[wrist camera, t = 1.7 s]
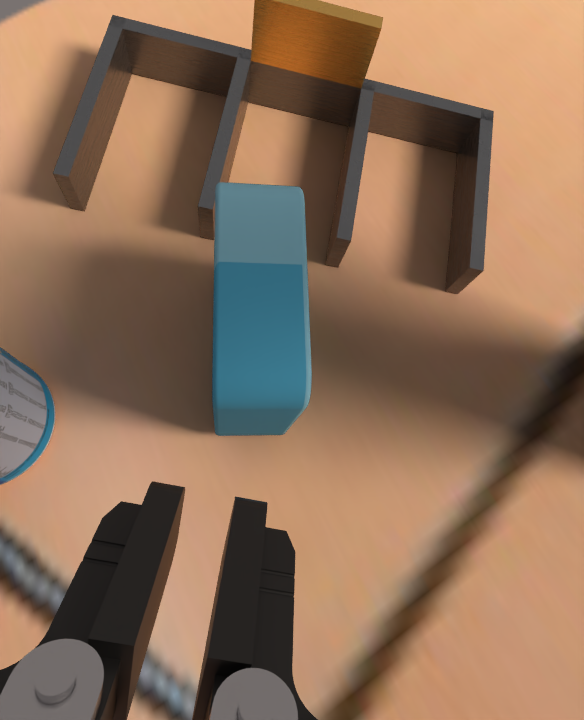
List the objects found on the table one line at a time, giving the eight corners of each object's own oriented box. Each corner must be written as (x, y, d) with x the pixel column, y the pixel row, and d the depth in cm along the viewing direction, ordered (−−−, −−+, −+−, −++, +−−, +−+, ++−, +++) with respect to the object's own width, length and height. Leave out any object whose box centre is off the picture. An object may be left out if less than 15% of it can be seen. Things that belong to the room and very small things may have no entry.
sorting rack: (469, 146, 43) (531, 56, 34) (457, 293, 39) (524, 233, 30) (122, 60, 41) (96, -58, 32) (70, 208, 37) (24, 116, 28)
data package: (217, 273, 37) (215, 167, 25) (279, 275, 37) (304, 173, 26) (215, 438, 33) (211, 402, 22) (282, 438, 34) (313, 402, 23)
